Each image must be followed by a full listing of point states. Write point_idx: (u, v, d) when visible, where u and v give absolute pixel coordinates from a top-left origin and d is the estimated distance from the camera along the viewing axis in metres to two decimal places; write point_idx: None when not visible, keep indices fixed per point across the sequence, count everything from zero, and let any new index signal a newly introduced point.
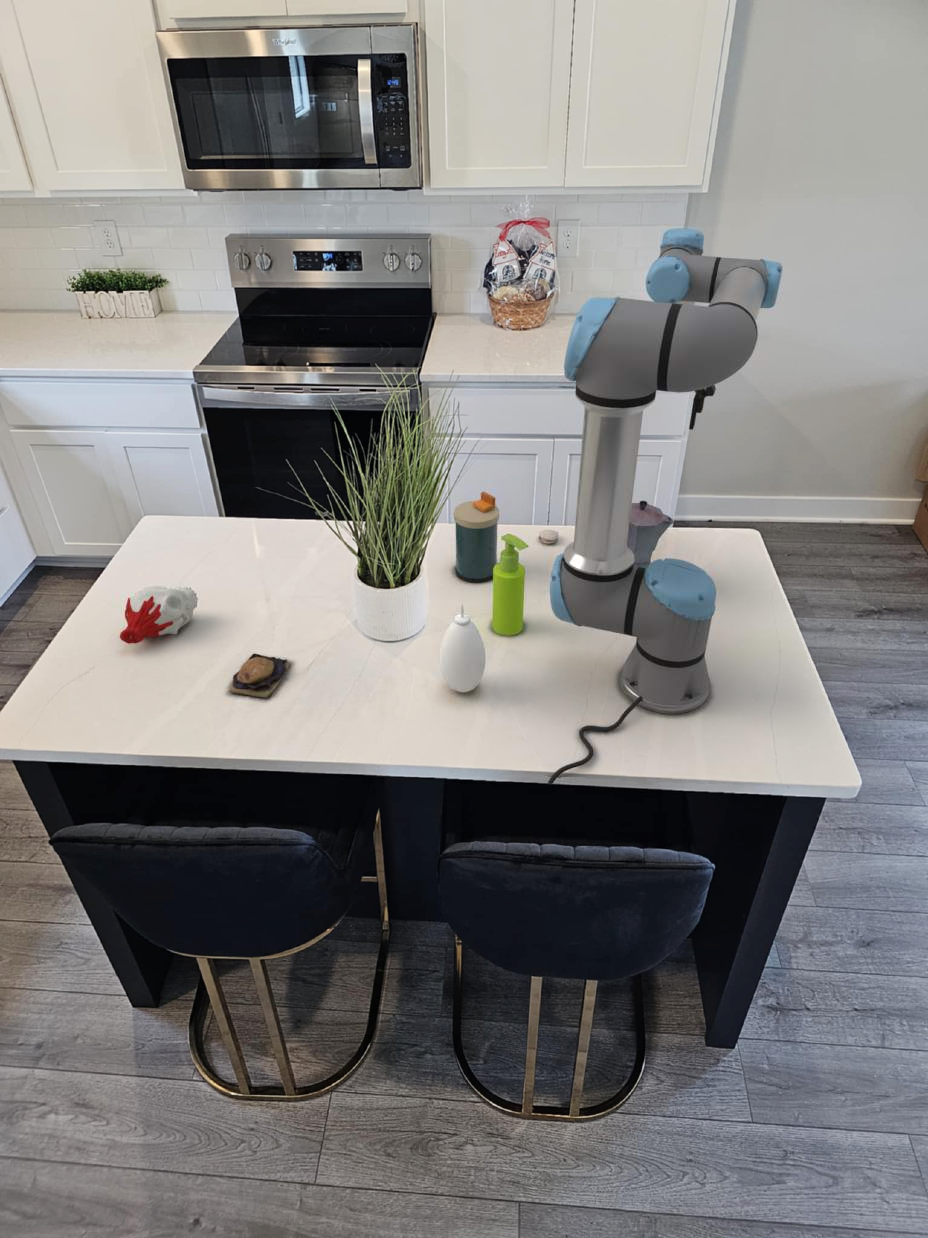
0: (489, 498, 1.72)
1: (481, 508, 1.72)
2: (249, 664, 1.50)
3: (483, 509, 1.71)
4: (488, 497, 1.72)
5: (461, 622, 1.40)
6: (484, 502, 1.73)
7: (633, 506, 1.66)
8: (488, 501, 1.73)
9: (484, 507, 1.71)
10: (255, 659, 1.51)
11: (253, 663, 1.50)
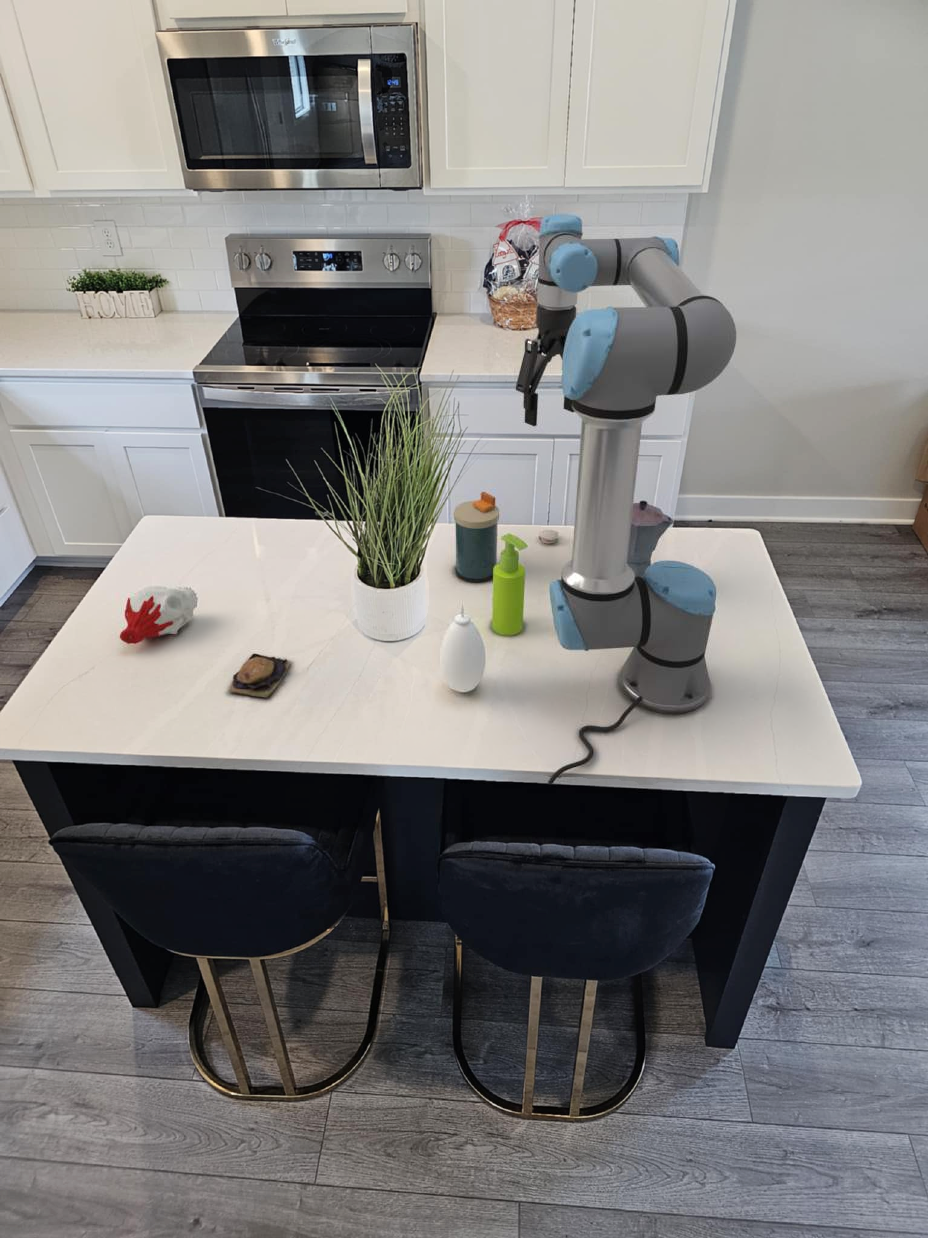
0: (489, 498, 1.72)
1: (481, 508, 1.72)
2: (249, 664, 1.50)
3: (483, 509, 1.71)
4: (488, 497, 1.72)
5: (461, 621, 1.40)
6: (484, 502, 1.73)
7: (633, 506, 1.66)
8: (488, 501, 1.73)
9: (484, 507, 1.71)
10: (255, 659, 1.51)
11: (253, 663, 1.50)
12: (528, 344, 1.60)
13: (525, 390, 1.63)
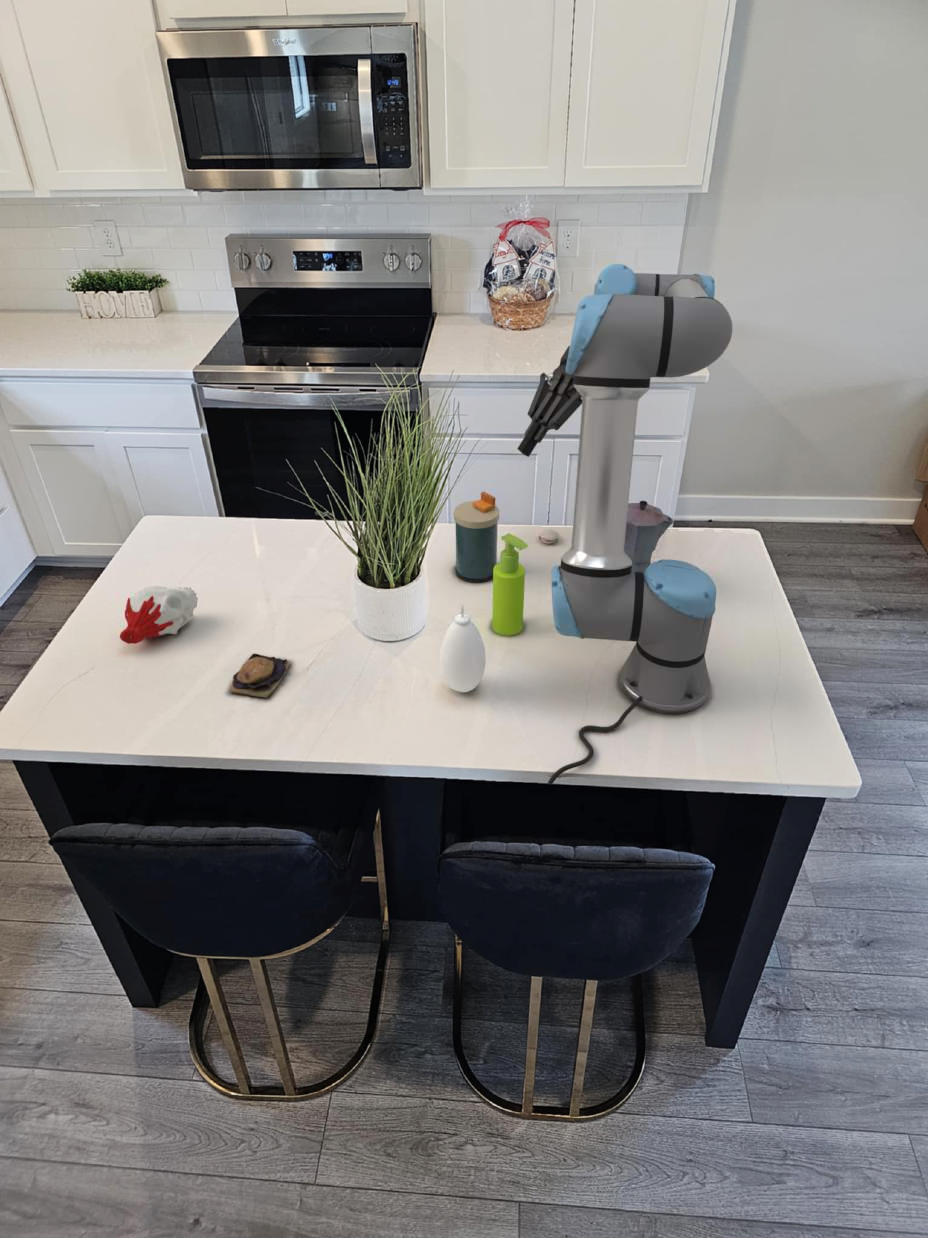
0: (489, 498, 1.72)
1: (481, 508, 1.72)
2: (249, 664, 1.50)
3: (483, 509, 1.71)
4: (488, 497, 1.72)
5: (461, 622, 1.40)
6: (484, 502, 1.73)
7: (633, 506, 1.66)
8: (488, 501, 1.73)
9: (484, 507, 1.71)
10: (255, 659, 1.51)
11: (253, 663, 1.50)
12: None
13: (528, 412, 1.75)
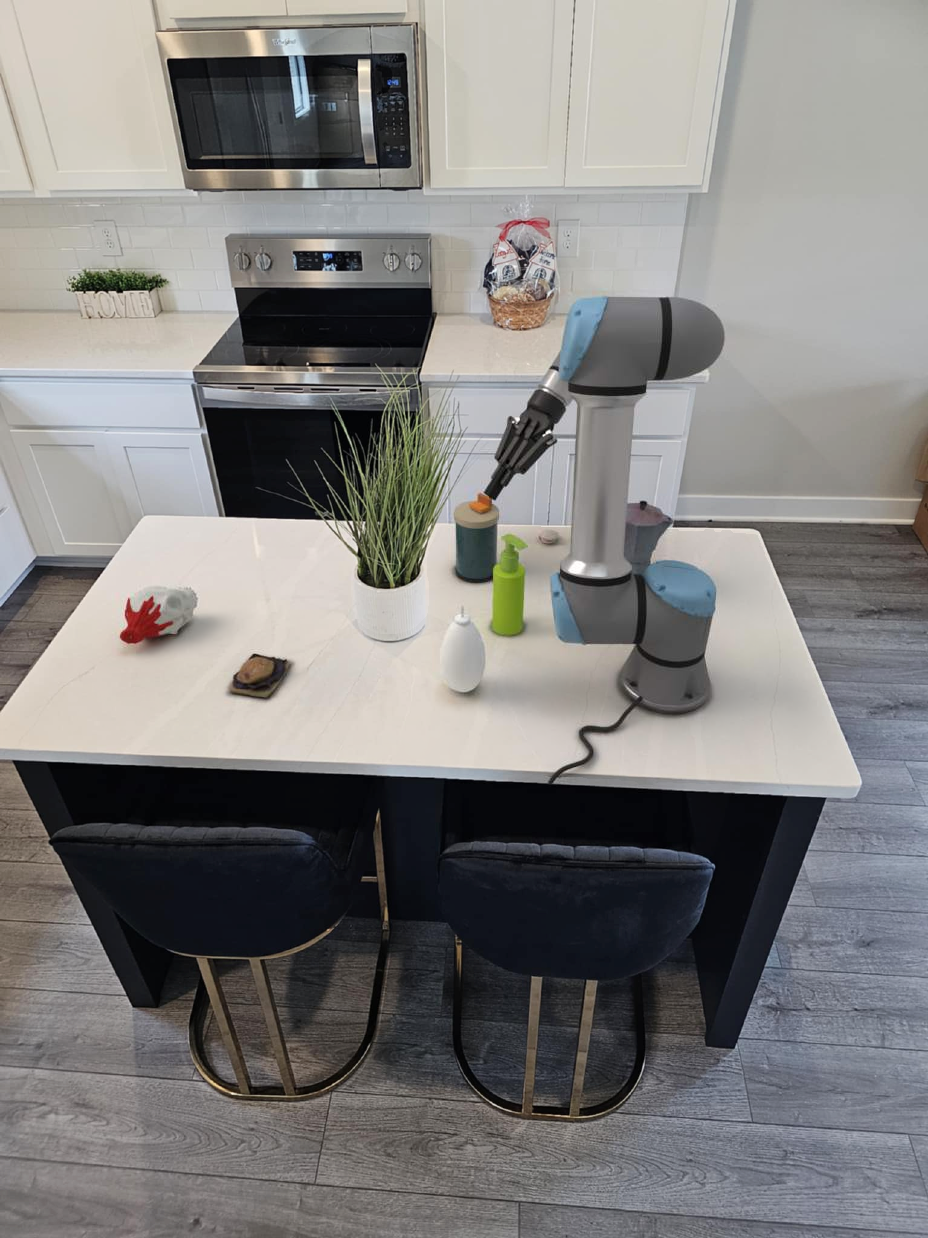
0: (485, 499, 1.71)
1: (478, 509, 1.71)
2: (249, 664, 1.50)
3: (480, 510, 1.71)
4: (485, 499, 1.72)
5: (461, 622, 1.40)
6: (481, 503, 1.73)
7: (633, 506, 1.66)
8: (485, 502, 1.72)
9: (481, 508, 1.71)
10: (255, 659, 1.51)
11: (253, 663, 1.50)
12: None
13: (495, 455, 1.74)
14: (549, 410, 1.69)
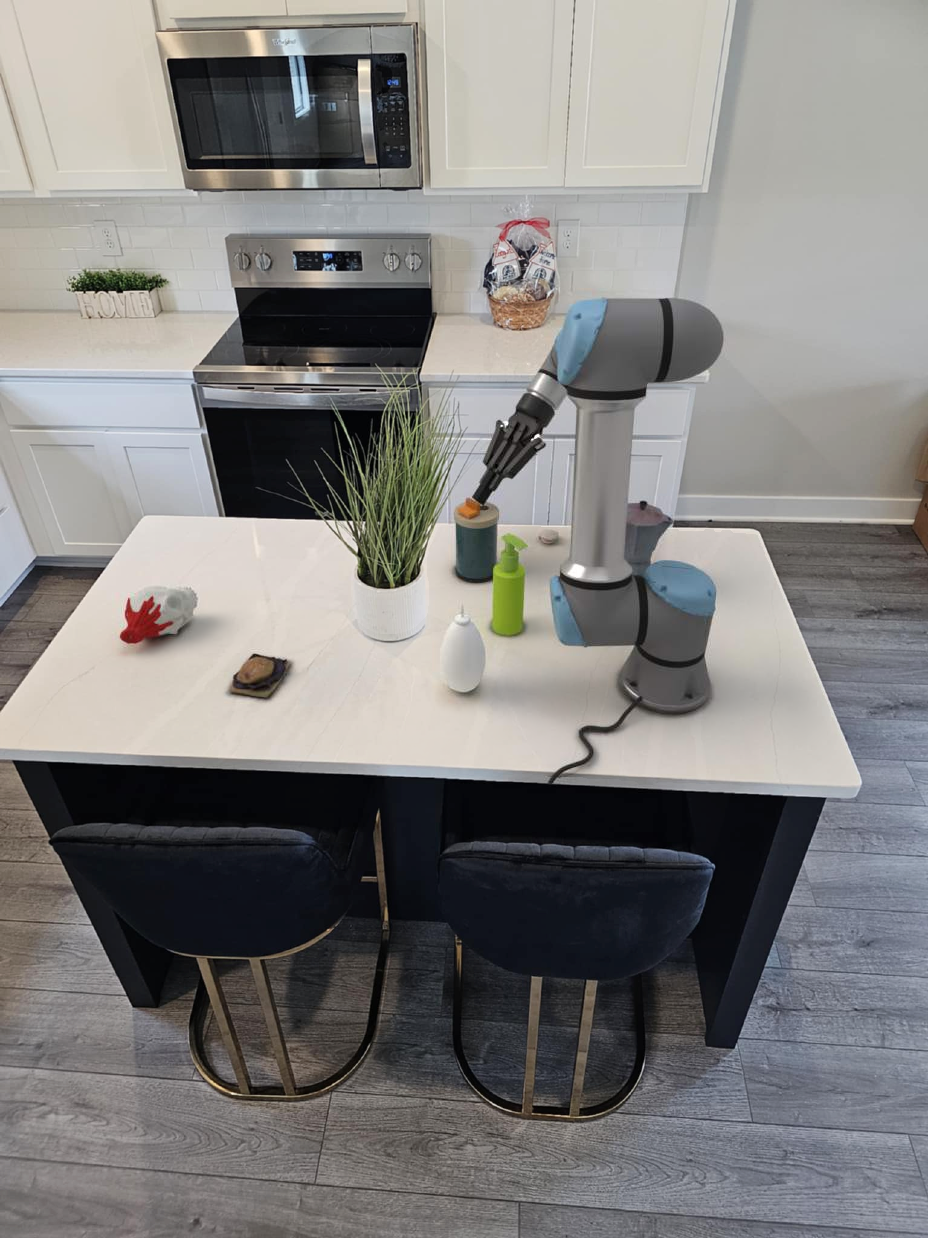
0: (473, 504, 1.70)
1: (466, 514, 1.69)
2: (249, 664, 1.50)
3: (468, 515, 1.69)
4: (473, 504, 1.70)
5: (461, 622, 1.40)
6: (469, 508, 1.71)
7: (633, 506, 1.66)
8: (473, 507, 1.70)
9: (469, 513, 1.69)
10: (255, 659, 1.51)
11: (253, 663, 1.50)
12: None
13: (483, 460, 1.72)
14: (538, 414, 1.67)
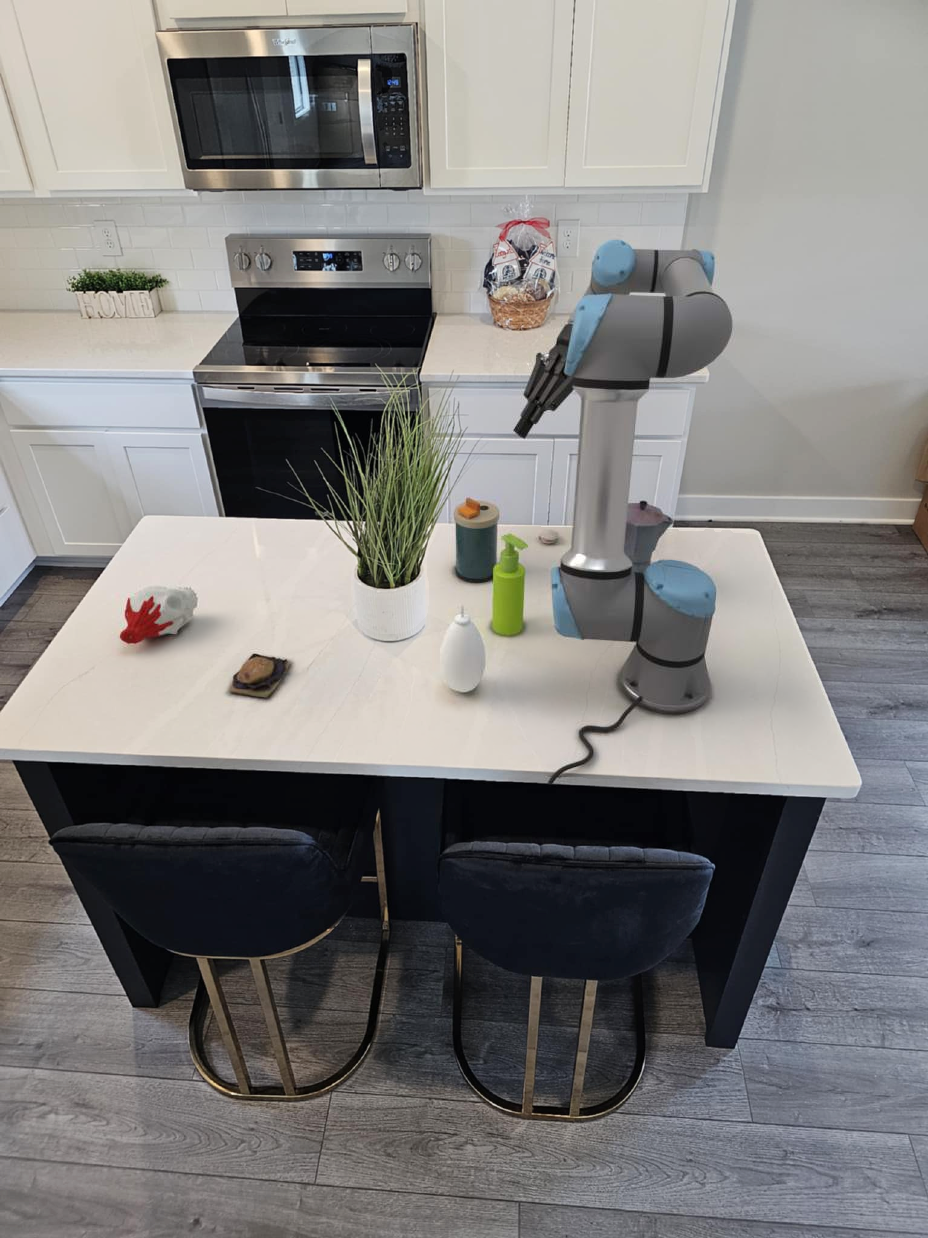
0: (474, 504, 1.70)
1: (466, 514, 1.69)
2: (249, 664, 1.50)
3: (468, 515, 1.69)
4: (473, 504, 1.70)
5: (461, 622, 1.40)
6: (469, 508, 1.71)
7: (633, 506, 1.66)
8: (473, 507, 1.70)
9: (469, 513, 1.69)
10: (255, 659, 1.51)
11: (253, 663, 1.50)
12: None
13: (524, 393, 1.71)
14: None
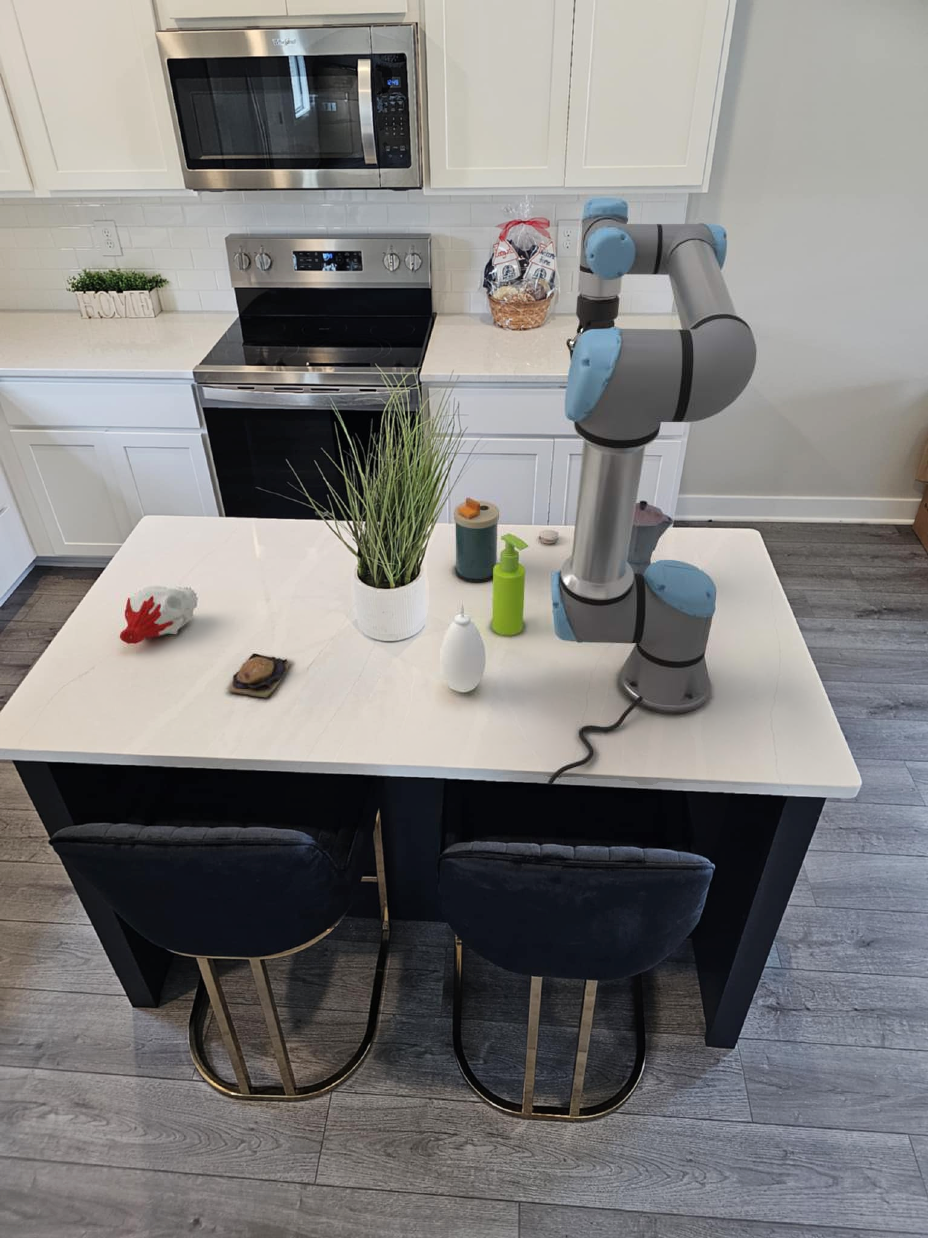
0: (474, 504, 1.70)
1: (466, 514, 1.69)
2: (249, 664, 1.50)
3: (468, 515, 1.69)
4: (473, 504, 1.70)
5: (461, 622, 1.40)
6: (469, 508, 1.71)
7: None
8: (473, 507, 1.70)
9: (469, 513, 1.69)
10: (255, 659, 1.51)
11: (253, 663, 1.50)
12: (571, 346, 1.53)
13: None
14: None
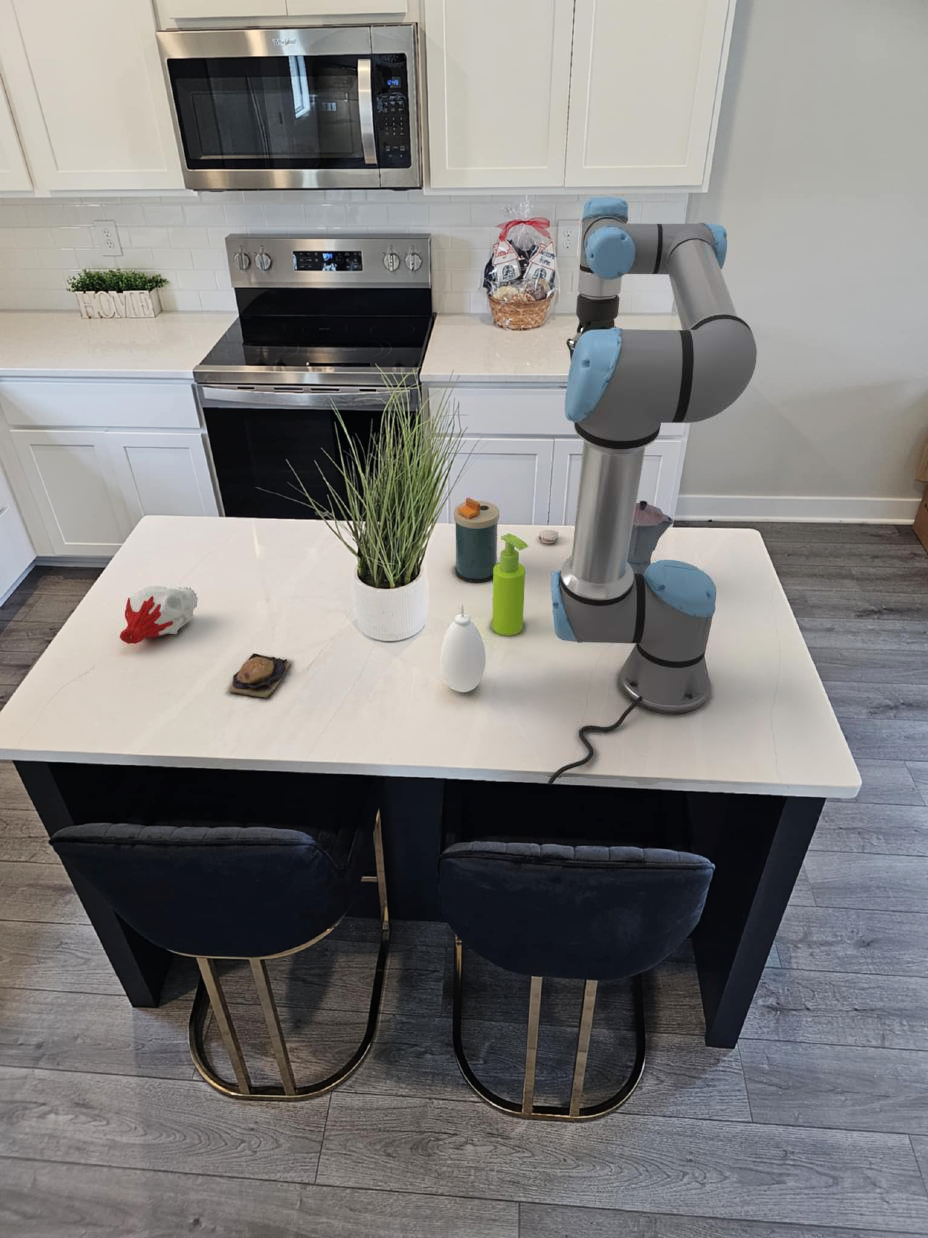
0: (474, 504, 1.70)
1: (466, 514, 1.69)
2: (249, 664, 1.50)
3: (468, 515, 1.69)
4: (473, 504, 1.70)
5: (461, 622, 1.40)
6: (469, 508, 1.71)
7: None
8: (473, 507, 1.70)
9: (469, 513, 1.69)
10: (255, 659, 1.51)
11: (253, 663, 1.50)
12: (571, 345, 1.53)
13: None
14: None
